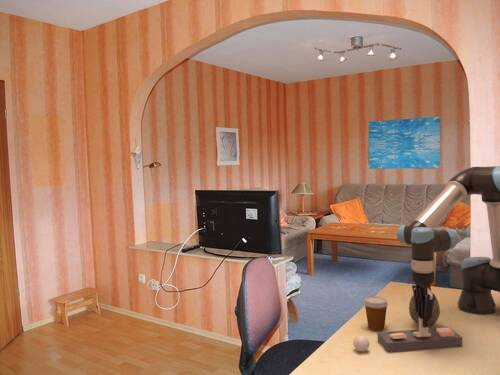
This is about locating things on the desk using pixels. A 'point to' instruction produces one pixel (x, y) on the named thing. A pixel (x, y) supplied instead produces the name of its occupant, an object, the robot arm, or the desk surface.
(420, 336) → the middle rocker
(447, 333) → the rocker
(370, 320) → the disposable coffee cup
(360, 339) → the white ball
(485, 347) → the desk surface
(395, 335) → the rocker
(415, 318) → the decorative egg
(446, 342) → the power strip
